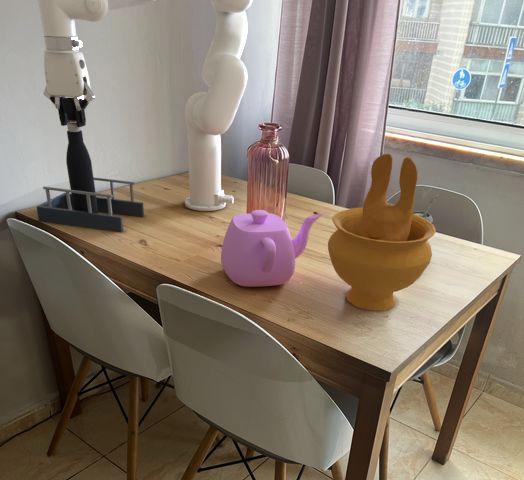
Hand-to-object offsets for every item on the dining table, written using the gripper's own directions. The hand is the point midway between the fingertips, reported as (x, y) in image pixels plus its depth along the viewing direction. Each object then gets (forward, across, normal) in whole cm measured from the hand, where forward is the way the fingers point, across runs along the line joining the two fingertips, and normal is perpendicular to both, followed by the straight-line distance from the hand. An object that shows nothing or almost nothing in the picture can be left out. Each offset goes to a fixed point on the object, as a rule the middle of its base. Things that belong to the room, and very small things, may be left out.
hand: (73, 124), depth 142 cm
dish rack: (+25, -2, 0) cm, 25 cm away
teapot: (+25, -56, +21) cm, 65 cm away
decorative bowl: (+25, -82, +25) cm, 90 cm away
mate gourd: (+26, -91, -13) cm, 96 cm away
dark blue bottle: (+24, 0, 0) cm, 24 cm away
